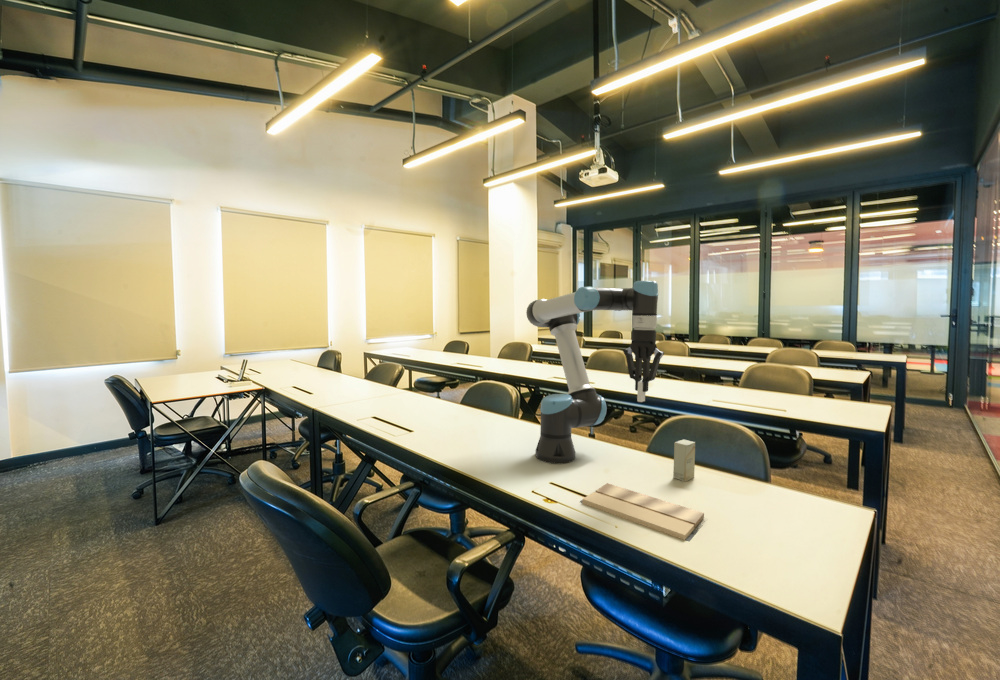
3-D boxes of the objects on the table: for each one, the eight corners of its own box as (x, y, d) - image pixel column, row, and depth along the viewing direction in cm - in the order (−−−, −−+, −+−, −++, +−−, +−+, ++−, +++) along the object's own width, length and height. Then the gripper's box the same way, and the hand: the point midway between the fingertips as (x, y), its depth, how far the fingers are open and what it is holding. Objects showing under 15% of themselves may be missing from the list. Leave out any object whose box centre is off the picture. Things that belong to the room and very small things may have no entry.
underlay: (579, 505, 119) (579, 497, 119) (604, 489, 130) (605, 482, 130) (689, 545, 99) (689, 536, 99) (708, 522, 110) (708, 514, 110)
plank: (595, 494, 124) (595, 490, 124) (607, 486, 129) (607, 483, 129) (695, 528, 105) (695, 523, 105) (704, 517, 110) (704, 513, 110)
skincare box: (685, 482, 136) (686, 445, 136) (672, 477, 140) (673, 442, 139) (694, 477, 140) (696, 441, 139) (681, 473, 144) (683, 438, 143)
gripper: (619, 328, 137) (617, 399, 138) (659, 330, 128) (656, 406, 130) (630, 328, 142) (627, 396, 144) (668, 329, 133) (665, 402, 135)
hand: (641, 401), depth 137 cm, fingers closed
